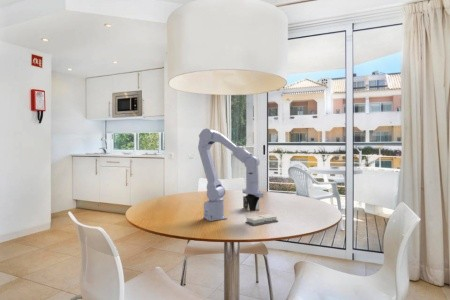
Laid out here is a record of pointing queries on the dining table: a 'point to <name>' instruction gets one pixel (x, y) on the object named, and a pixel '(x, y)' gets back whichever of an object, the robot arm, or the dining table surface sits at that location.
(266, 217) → the tile far
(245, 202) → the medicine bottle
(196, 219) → the dining table surface
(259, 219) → the tile near
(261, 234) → the dining table surface
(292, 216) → the dining table surface
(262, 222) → the mat
